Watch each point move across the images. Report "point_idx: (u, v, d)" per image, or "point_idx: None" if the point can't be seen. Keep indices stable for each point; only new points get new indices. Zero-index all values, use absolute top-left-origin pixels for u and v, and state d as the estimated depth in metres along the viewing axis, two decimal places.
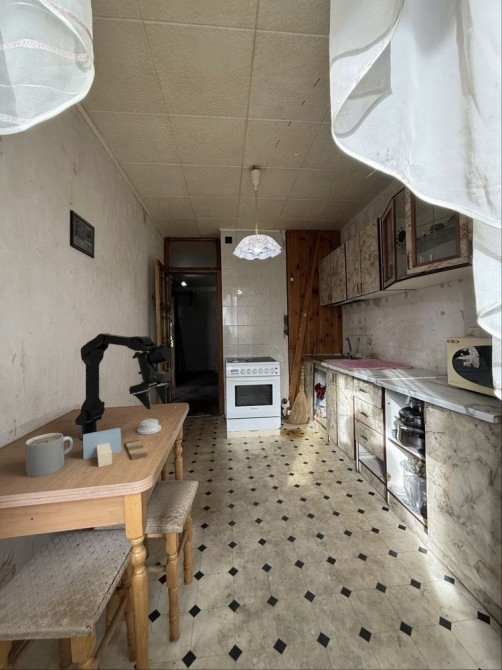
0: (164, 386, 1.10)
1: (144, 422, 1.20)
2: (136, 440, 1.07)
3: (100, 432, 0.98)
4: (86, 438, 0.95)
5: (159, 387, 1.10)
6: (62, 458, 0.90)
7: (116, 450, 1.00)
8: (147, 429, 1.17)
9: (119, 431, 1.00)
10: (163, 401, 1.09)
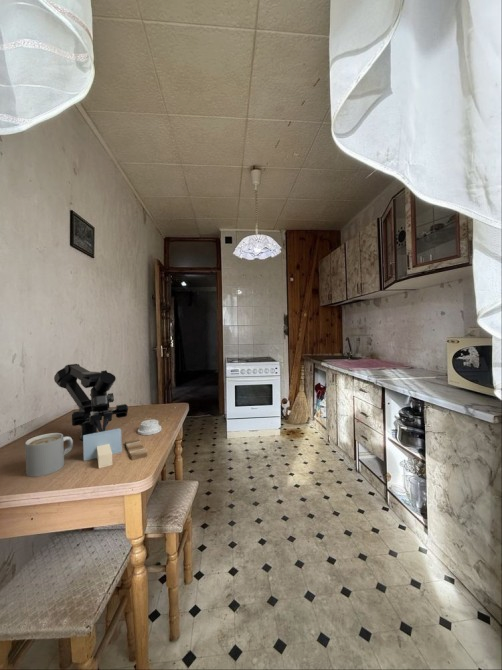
0: (103, 416, 1.02)
1: (144, 423, 1.19)
2: (136, 440, 1.07)
3: (100, 433, 0.97)
4: (86, 439, 0.94)
5: None
6: (62, 458, 0.90)
7: (116, 451, 0.99)
8: (147, 430, 1.17)
9: (119, 432, 0.99)
10: None
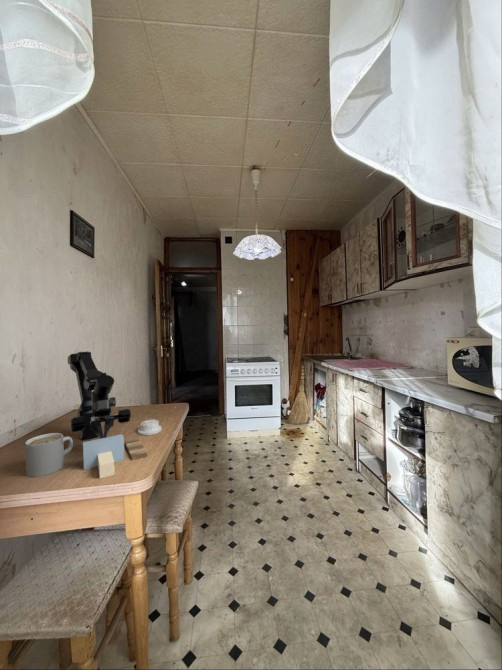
0: None
1: (144, 423, 1.19)
2: (136, 440, 1.07)
3: (101, 439, 0.91)
4: (86, 446, 0.88)
5: None
6: (62, 458, 0.90)
7: (119, 459, 0.93)
8: (147, 430, 1.17)
9: (122, 438, 0.93)
10: None
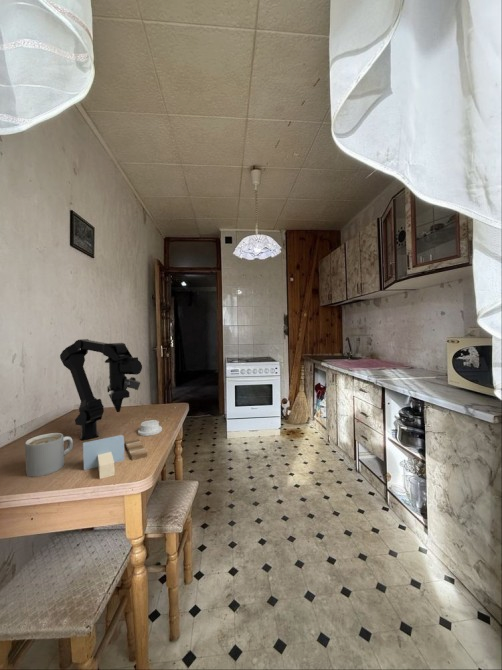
0: None
1: (144, 423, 1.18)
2: (136, 440, 1.07)
3: (101, 440, 0.91)
4: (86, 447, 0.87)
5: None
6: (62, 458, 0.90)
7: (119, 459, 0.93)
8: (148, 430, 1.16)
9: (122, 439, 0.93)
10: None
